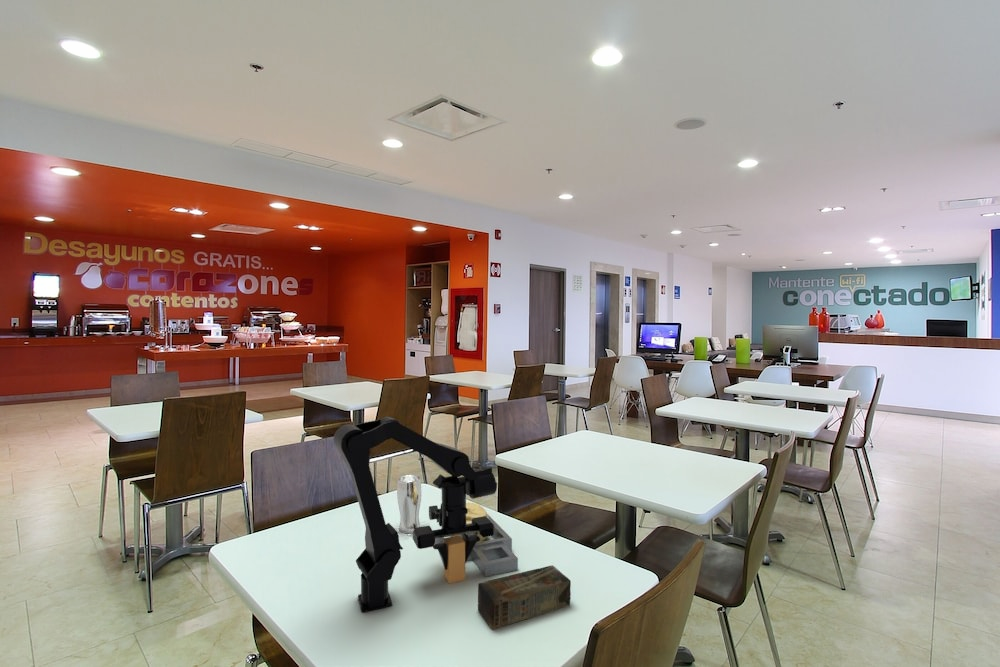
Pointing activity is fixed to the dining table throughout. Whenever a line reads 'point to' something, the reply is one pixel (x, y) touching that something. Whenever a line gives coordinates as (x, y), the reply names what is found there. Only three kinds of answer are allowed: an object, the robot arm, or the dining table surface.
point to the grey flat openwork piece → (494, 553)
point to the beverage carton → (523, 596)
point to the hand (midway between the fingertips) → (454, 567)
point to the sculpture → (474, 516)
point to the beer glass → (409, 502)
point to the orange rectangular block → (455, 559)
